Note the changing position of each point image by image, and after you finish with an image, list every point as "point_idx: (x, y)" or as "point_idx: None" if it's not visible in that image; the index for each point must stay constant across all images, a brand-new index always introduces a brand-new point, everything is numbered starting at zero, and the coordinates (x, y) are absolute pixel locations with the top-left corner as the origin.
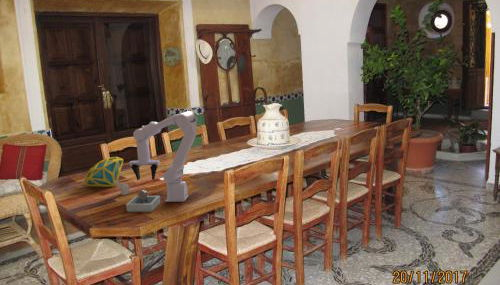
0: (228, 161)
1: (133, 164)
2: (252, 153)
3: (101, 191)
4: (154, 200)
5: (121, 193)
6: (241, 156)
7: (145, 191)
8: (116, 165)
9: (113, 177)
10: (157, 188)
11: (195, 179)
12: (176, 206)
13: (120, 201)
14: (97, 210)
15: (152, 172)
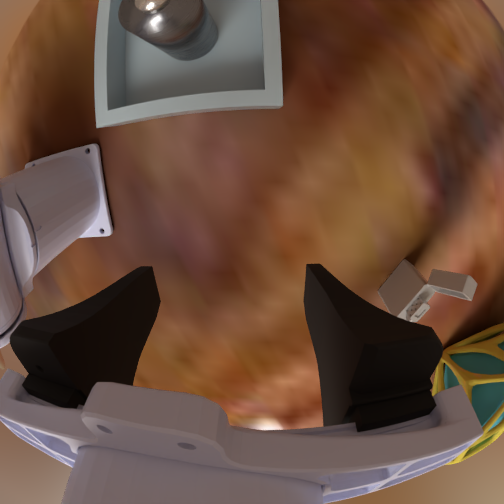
0: None
1: (412, 422)
2: None
3: (480, 299)
4: (99, 37)
5: (414, 267)
6: None
7: (130, 11)
8: None
9: (459, 371)
10: (246, 351)
11: None
12: (36, 97)
13: (393, 147)
14: (444, 27)
15: (95, 301)
